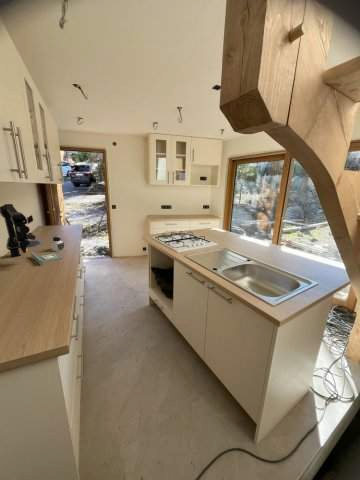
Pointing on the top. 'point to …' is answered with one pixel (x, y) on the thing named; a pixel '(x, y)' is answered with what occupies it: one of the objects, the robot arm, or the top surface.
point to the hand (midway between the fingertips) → (23, 251)
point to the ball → (22, 251)
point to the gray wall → (36, 258)
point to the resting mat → (49, 257)
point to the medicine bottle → (57, 244)
